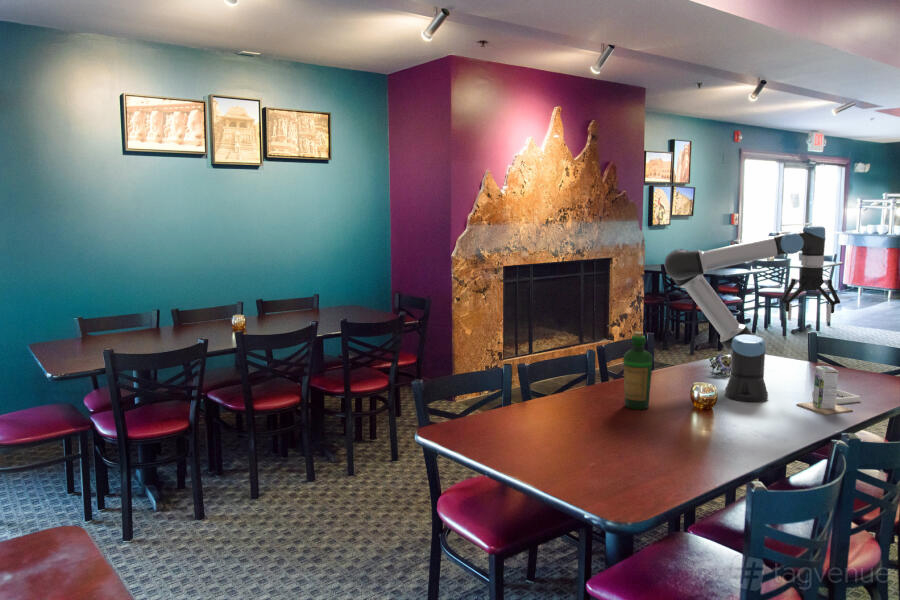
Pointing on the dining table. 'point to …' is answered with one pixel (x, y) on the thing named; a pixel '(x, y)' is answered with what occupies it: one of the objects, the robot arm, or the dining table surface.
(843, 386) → the dining table surface
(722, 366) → the passion flower
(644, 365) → the bottle
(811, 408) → the mat
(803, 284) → the robot arm
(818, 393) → the syrup box
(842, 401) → the white square frame
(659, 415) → the dining table surface
